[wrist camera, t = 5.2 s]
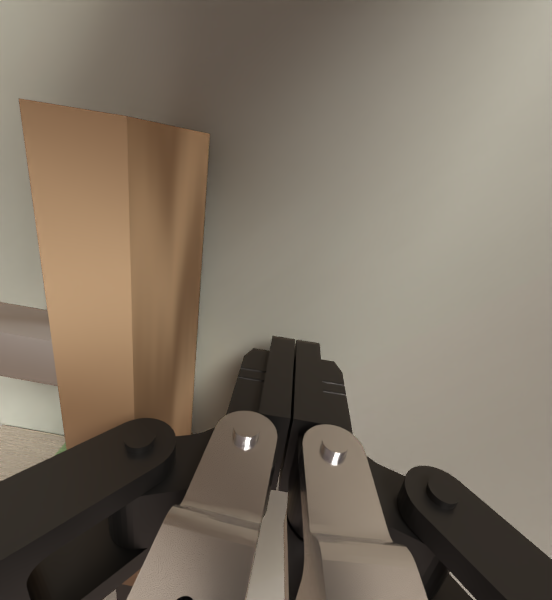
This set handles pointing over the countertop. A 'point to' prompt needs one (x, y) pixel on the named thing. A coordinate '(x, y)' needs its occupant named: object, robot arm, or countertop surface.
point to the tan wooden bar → (112, 269)
